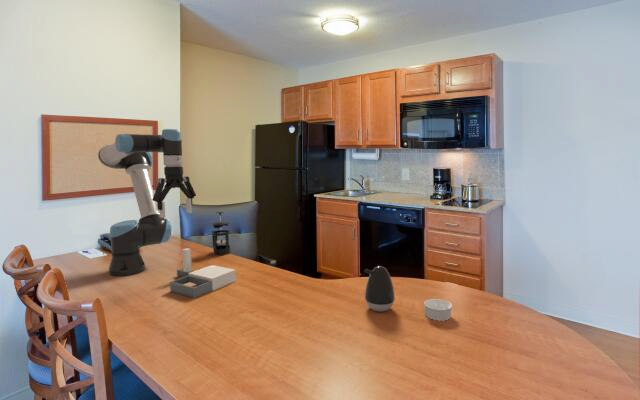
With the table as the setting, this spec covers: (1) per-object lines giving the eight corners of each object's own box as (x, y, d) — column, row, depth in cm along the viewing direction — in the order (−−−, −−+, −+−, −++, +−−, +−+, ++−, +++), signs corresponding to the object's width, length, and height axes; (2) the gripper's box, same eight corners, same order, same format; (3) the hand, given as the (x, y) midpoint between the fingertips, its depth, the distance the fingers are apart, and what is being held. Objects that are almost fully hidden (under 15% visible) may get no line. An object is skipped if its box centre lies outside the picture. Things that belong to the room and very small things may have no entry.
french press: (235, 252, 204) (233, 211, 201) (222, 256, 196) (220, 213, 194) (220, 249, 211) (218, 209, 208) (207, 253, 203) (205, 212, 200)
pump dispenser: (361, 303, 132) (361, 262, 131) (389, 302, 133) (390, 261, 131) (367, 315, 122) (367, 271, 120) (398, 314, 123) (398, 270, 121)
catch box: (170, 291, 146) (169, 281, 146) (188, 284, 154) (188, 275, 153) (194, 298, 139) (193, 288, 138) (212, 290, 146) (211, 281, 146)
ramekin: (445, 325, 115) (445, 312, 115) (419, 317, 121) (419, 304, 121) (456, 315, 122) (456, 303, 121) (430, 308, 128) (431, 296, 127)
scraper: (177, 276, 164) (175, 248, 163) (182, 274, 167) (181, 246, 165) (193, 280, 159) (192, 251, 157) (199, 278, 161) (197, 249, 160)
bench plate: (189, 284, 154) (188, 273, 153) (212, 275, 165) (212, 265, 164) (212, 290, 146) (212, 278, 146) (235, 281, 157) (235, 269, 157)
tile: (189, 282, 148) (189, 288, 148) (179, 285, 144) (180, 291, 144) (196, 284, 145) (197, 290, 146) (187, 287, 141) (187, 294, 142)
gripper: (152, 167, 144) (156, 220, 147) (202, 165, 165) (204, 211, 168) (140, 167, 148) (144, 218, 151) (191, 164, 169) (193, 210, 172)
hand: (176, 215), depth 159 cm, fingers open, 13 cm apart
